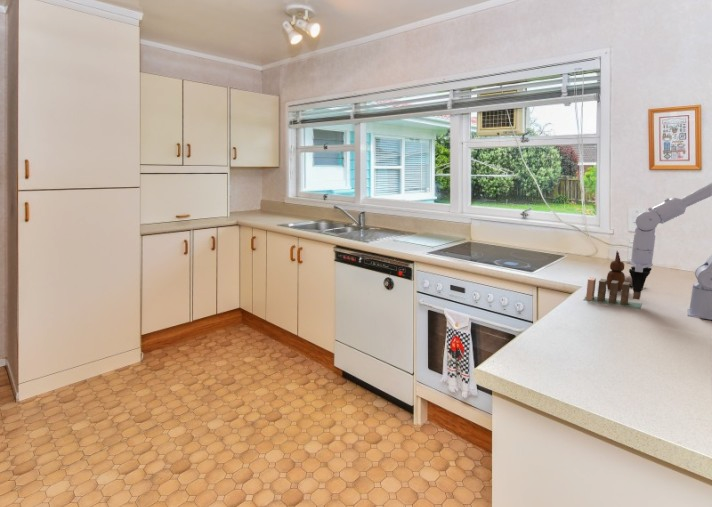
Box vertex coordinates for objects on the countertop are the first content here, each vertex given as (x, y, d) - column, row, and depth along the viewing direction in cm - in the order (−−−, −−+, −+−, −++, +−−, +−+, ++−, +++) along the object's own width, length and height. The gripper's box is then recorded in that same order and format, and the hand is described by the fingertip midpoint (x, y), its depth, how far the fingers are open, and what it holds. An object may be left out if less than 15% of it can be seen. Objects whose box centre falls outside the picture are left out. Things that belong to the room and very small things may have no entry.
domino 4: (640, 296, 143) (643, 276, 142) (639, 299, 140) (641, 278, 139) (633, 296, 144) (636, 275, 143) (632, 298, 141) (635, 277, 140)
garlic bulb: (641, 289, 166) (644, 268, 165) (619, 286, 170) (622, 266, 168) (640, 285, 172) (643, 265, 171) (619, 282, 176) (621, 263, 175)
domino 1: (604, 299, 150) (607, 279, 148) (602, 302, 146) (605, 281, 145) (599, 298, 151) (601, 278, 150) (596, 301, 147) (599, 281, 146)
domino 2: (616, 300, 148) (618, 281, 146) (614, 303, 144) (616, 283, 143) (610, 300, 149) (612, 280, 147) (608, 302, 145) (610, 282, 144)
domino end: (593, 297, 152) (595, 278, 150) (591, 300, 148) (593, 280, 147) (588, 296, 153) (590, 277, 152) (585, 299, 149) (587, 279, 148)
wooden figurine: (606, 287, 168) (610, 249, 165) (624, 289, 164) (628, 250, 162) (604, 291, 162) (608, 251, 160) (622, 293, 159) (627, 253, 156)
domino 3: (627, 302, 146) (630, 282, 144) (626, 305, 142) (628, 284, 141) (621, 301, 147) (624, 281, 145) (620, 304, 143) (622, 284, 142)
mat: (642, 304, 145) (642, 303, 145) (640, 310, 138) (640, 309, 138) (587, 296, 155) (587, 295, 154) (582, 301, 148) (582, 300, 148)
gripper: (630, 245, 147) (626, 284, 150) (625, 250, 136) (620, 292, 138) (655, 247, 143) (650, 287, 145) (652, 253, 132) (647, 296, 134)
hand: (637, 290), depth 141 cm, fingers closed on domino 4, 4 cm apart
